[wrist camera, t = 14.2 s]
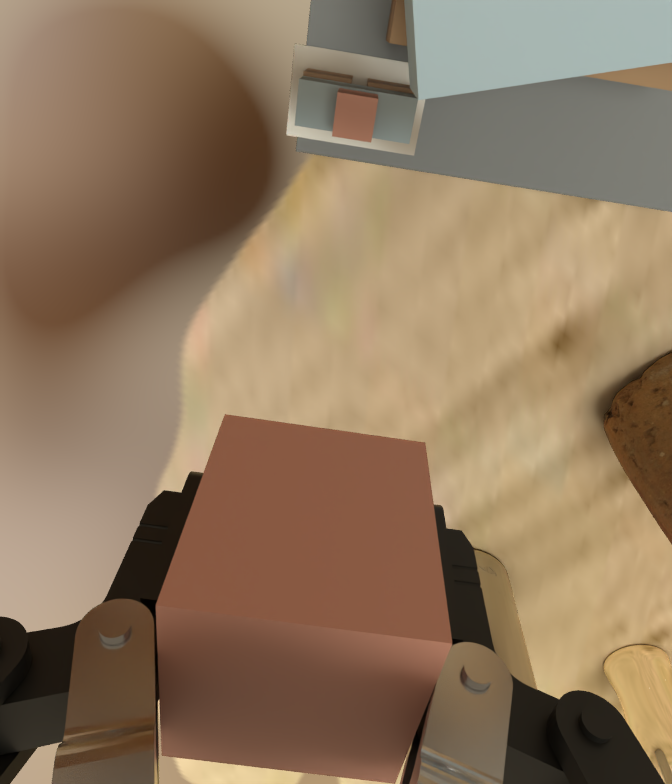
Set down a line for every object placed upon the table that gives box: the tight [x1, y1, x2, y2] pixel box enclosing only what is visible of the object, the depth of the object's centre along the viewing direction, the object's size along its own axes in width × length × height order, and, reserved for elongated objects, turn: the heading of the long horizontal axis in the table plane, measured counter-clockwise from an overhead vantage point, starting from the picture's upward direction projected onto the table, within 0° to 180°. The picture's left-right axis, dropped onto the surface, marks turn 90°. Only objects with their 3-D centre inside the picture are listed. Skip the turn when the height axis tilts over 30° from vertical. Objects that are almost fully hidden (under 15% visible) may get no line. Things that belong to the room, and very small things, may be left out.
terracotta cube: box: [156, 414, 452, 784], centre depth 12 cm, size 4×4×5 cm
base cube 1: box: [584, 63, 672, 91], centre depth 26 cm, size 6×6×6 cm
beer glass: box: [603, 645, 672, 784], centre depth 51 cm, size 7×7×15 cm
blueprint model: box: [286, 44, 425, 156], centre depth 29 cm, size 4×7×7 cm, turn 82°
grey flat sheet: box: [296, 0, 672, 212], centre depth 29 cm, size 16×22×1 cm
